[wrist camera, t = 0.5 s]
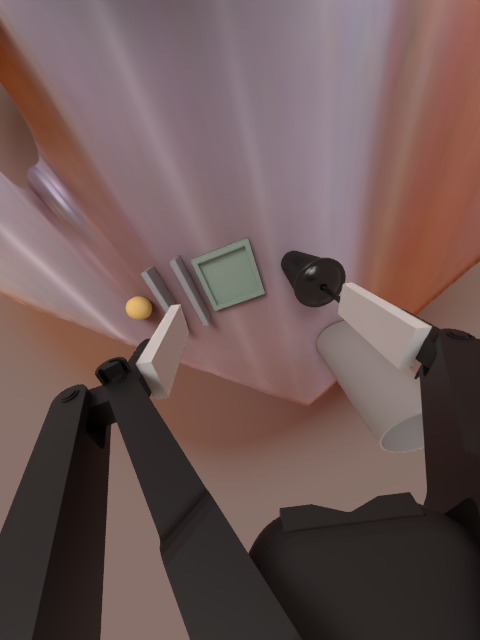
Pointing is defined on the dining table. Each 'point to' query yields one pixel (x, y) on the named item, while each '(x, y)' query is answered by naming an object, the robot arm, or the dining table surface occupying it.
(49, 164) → the dining table surface
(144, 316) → the ball
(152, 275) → the fences
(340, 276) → the drinking cup
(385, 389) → the cylinder vase
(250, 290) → the coaster tray
